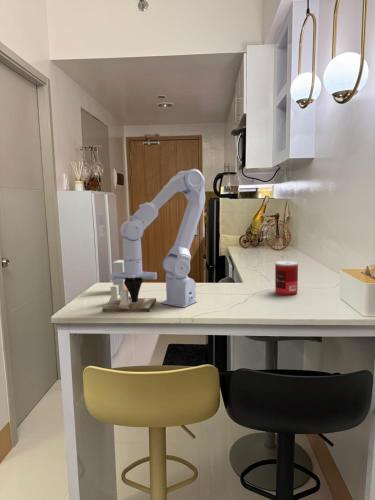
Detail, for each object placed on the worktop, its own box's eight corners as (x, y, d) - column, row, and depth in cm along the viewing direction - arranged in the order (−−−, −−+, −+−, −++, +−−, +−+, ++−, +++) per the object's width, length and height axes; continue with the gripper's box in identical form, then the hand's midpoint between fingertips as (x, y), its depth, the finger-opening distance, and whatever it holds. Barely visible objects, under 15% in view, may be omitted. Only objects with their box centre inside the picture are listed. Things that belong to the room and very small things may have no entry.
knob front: (130, 303, 119) (129, 289, 118) (128, 306, 116) (127, 291, 115) (121, 303, 119) (121, 289, 118) (119, 306, 116) (118, 291, 115)
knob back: (120, 298, 125) (119, 284, 125) (118, 300, 123) (117, 286, 122) (112, 298, 126) (111, 284, 125) (110, 300, 123) (109, 286, 122)
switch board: (156, 301, 126) (156, 295, 126) (149, 311, 114) (149, 306, 114) (113, 301, 127) (113, 296, 127) (102, 312, 115) (102, 306, 115)
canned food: (299, 290, 133) (299, 261, 132) (295, 296, 126) (295, 265, 125) (277, 289, 137) (277, 260, 135) (273, 294, 129) (273, 264, 128)
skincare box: (124, 294, 136) (122, 262, 134) (113, 294, 137) (111, 262, 135) (130, 290, 142) (128, 259, 140) (119, 290, 143) (117, 259, 141)
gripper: (106, 261, 112) (108, 305, 114) (153, 261, 110) (155, 304, 112) (112, 258, 119) (115, 298, 121) (157, 257, 117) (159, 298, 119)
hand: (134, 301), depth 117 cm, fingers closed
